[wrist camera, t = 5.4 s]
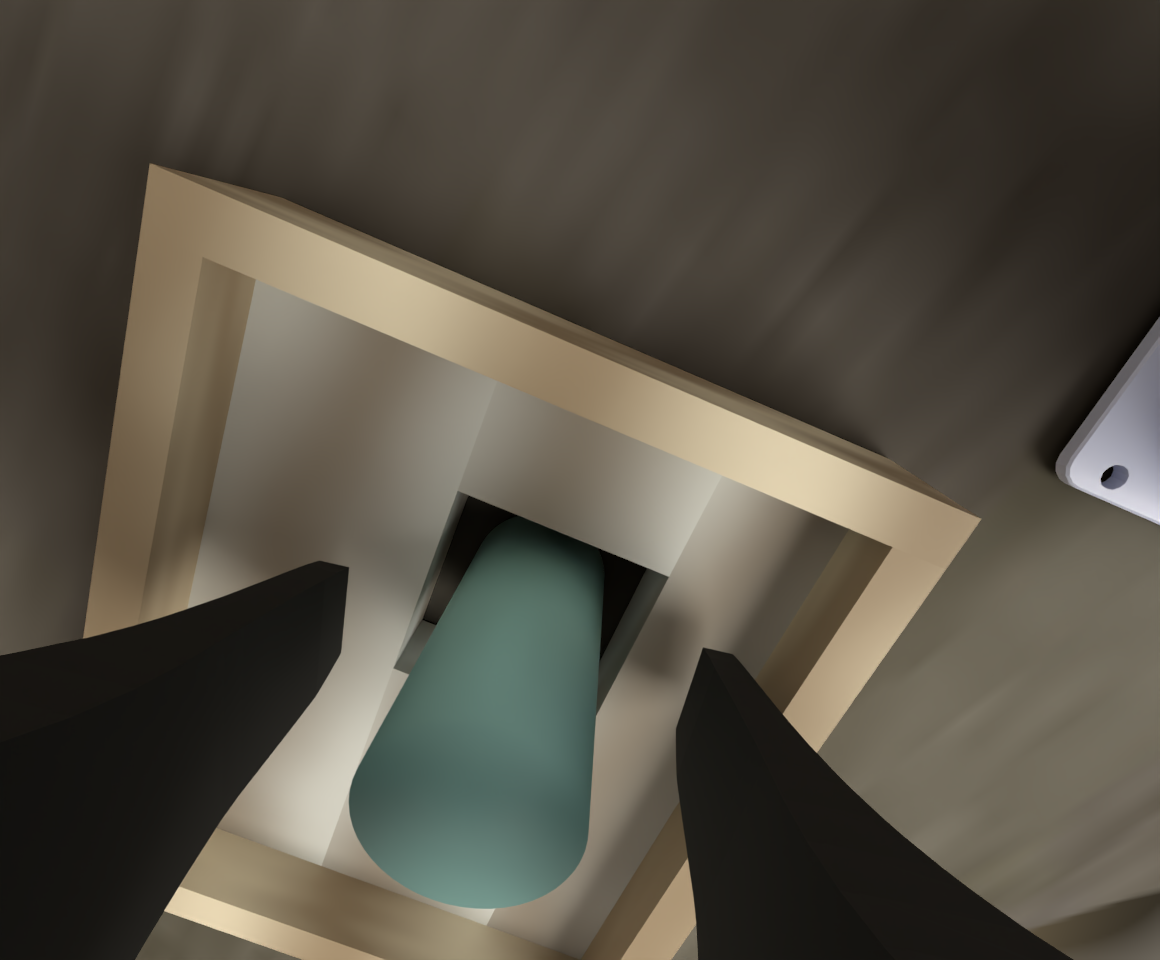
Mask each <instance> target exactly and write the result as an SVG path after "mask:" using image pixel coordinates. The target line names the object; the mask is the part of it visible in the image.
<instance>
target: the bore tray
mask: <svg viewBox="0 0 1160 960" xmlns="http://www.w3.org/2000/svg"><path fill="white" fill-rule="evenodd" d="M468 495H469V496H472V497H474V498H477V499H479V500H482V501H484V502H486V503H489V504H491V505H494V506H496V507H499V508H501V509H504V510H506V511H509V512H511V513H514V514H516V515H518V516H521V517H523V518H526V519H528V520H531V521H533V522H536V523H538V524H541V525H543V526H545V527H548V528H550V529H553V530H555V531H558V532H560V533H563V534H565V535H568V536H570V537H572V538H575V539H577V540H580V541H582V542H585V543H587V544H590V545H592V546H595V547H597V548H599V549H602V550H604V551H607V552H609V553H612V554H614V555H617V556H619V557H622V558H624V559H626V560H629V561H631V562H634V563H636V564H639V565H641V566H644V567H646V568H647V569H646V571H645V573H644V575H643V577H642V579H641V581H640V583H639V585H638V587H637V589H636V591H635V593H634V595H633V597H632V599H631V601H630V603H629V605H628V607H627V609H626V611H625V613H624V614H623V616H622V618H621V620H620V622H619V624H618V626H617V628H616V630H615V632H614V634H613V636H612V638H611V640H610V642H609V644H608V646H607V648H606V650H605V652H604V654H603V656H602V658H601V660H600V662H599V675H598V691H597V707H596V723H595V739H594V755H593V771H592V786H591V802H590V818H589V833H588V841H587V845H586V849H585V852H584V855H583V857H582V859H581V861H580V863H579V864H578V866H577V867H576V869H575V870H574V872H573V873H572V874H571V875H570V876H569V877H568V878H567V880H566V881H565V882H563V883H562V884H561V885H560V886H558V887H557V888H556V889H554V890H553V891H551V892H549V893H548V894H546V895H544V896H542V897H540V898H538V899H535V900H533V901H530V902H527V903H524V904H521V905H516V906H511V907H506V908H495V909H474V908H465V907H458V906H453V905H449V904H445V903H441V902H438V901H435V900H432V899H429V898H427V897H424V896H422V895H419V894H417V893H415V892H413V891H412V890H410V889H408V888H406V887H404V886H403V885H401V884H400V883H398V882H397V881H395V880H394V879H392V878H391V877H390V876H389V875H387V874H386V873H385V872H384V871H383V870H381V869H380V867H379V866H378V865H377V864H376V863H375V862H374V861H373V860H372V859H371V858H370V856H369V855H368V854H367V853H366V851H365V850H364V848H363V847H362V845H361V843H360V842H359V840H358V838H357V836H356V833H355V831H354V829H353V826H352V822H351V818H350V812H349V791H350V787H351V783H352V779H353V777H354V775H355V772H356V770H357V768H358V766H359V764H360V763H361V761H362V759H363V757H364V755H365V754H366V752H367V750H368V748H369V746H370V744H371V743H372V741H373V739H374V737H375V735H376V734H377V732H378V730H379V728H380V726H381V725H382V723H383V721H384V719H385V717H386V716H387V714H388V712H389V710H390V708H391V706H392V705H393V703H394V701H395V699H396V697H397V696H398V694H399V692H400V690H401V688H402V687H403V685H404V683H405V681H406V679H407V678H408V676H409V674H410V672H411V670H412V668H413V667H414V665H415V663H416V661H417V659H418V658H419V656H420V654H421V652H422V650H423V649H424V647H425V645H426V643H427V641H428V640H429V638H430V636H431V634H432V632H433V630H434V629H435V627H436V625H434V624H431V623H429V622H426V621H424V620H422V619H423V617H424V614H425V611H426V609H427V606H428V603H429V601H430V598H431V595H432V592H433V590H434V587H435V584H436V582H437V579H438V576H439V574H440V571H441V568H442V565H443V563H444V560H445V557H446V555H447V552H448V549H449V547H450V544H451V541H452V538H453V536H454V533H455V530H456V528H457V525H458V522H459V520H460V517H461V514H462V511H463V509H464V506H465V503H466V501H467V498H468ZM980 520H981V519H980V518H979V517H977V516H976V515H974V514H973V513H971V512H970V511H968V510H967V509H965V508H964V507H962V506H960V505H959V504H957V503H956V502H954V501H953V500H951V499H950V498H948V497H947V496H945V495H944V494H942V493H940V492H939V491H937V490H936V489H934V488H933V487H931V486H930V485H928V484H927V483H925V482H924V481H922V480H920V479H919V478H917V477H916V476H914V475H913V474H911V473H910V472H908V471H907V470H905V469H904V468H902V467H900V466H899V465H897V464H896V463H894V462H893V461H891V460H890V459H888V458H886V457H883V456H881V455H879V454H876V453H874V452H872V451H869V450H867V449H865V448H862V447H860V446H858V445H855V444H853V443H851V442H848V441H846V440H844V439H841V438H839V437H837V436H834V435H832V434H830V433H827V432H825V431H823V430H820V429H818V428H816V427H813V426H811V425H809V424H807V423H804V422H802V421H800V420H797V419H795V418H793V417H790V416H788V415H786V414H783V413H781V412H779V411H776V410H774V409H772V408H769V407H767V406H765V405H762V404H760V403H758V402H755V401H753V400H751V399H748V398H746V397H744V396H741V395H739V394H737V393H734V392H732V391H730V390H728V389H725V388H723V387H721V386H718V385H716V384H714V383H711V382H709V381H707V380H704V379H702V378H700V377H697V376H695V375H693V374H690V373H688V372H686V371H683V370H681V369H679V368H676V367H674V366H672V365H669V364H667V363H665V362H662V361H660V360H658V359H655V358H653V357H651V356H648V355H646V354H644V353H642V352H639V351H637V350H635V349H632V348H630V347H628V346H625V345H623V344H621V343H618V342H616V341H614V340H611V339H609V338H607V337H604V336H602V335H600V334H597V333H595V332H593V331H590V330H588V329H586V328H583V327H581V326H579V325H576V324H574V323H572V322H569V321H567V320H565V319H562V318H560V317H558V316H556V315H553V314H551V313H549V312H546V311H544V310H542V309H539V308H537V307H535V306H532V305H530V304H528V303H525V302H523V301H521V300H518V299H516V298H514V297H511V296H509V295H507V294H504V293H502V292H500V291H497V290H495V289H493V288H490V287H488V286H486V285H483V284H481V283H479V282H477V281H474V280H472V279H470V278H467V277H465V276H463V275H460V274H458V273H456V272H453V271H451V270H449V269H446V268H444V267H442V266H439V265H437V264H435V263H432V262H430V261H428V260H425V259H423V258H421V257H418V256H416V255H414V254H411V253H409V252H407V251H404V250H402V249H400V248H397V247H395V246H393V245H391V244H388V243H386V242H384V241H381V240H379V239H377V238H374V237H372V236H370V235H367V234H365V233H363V232H360V231H358V230H356V229H353V228H351V227H349V226H346V225H344V224H342V223H339V222H337V221H335V220H332V219H330V218H328V217H325V216H323V215H321V214H318V213H316V212H314V211H312V210H309V209H307V208H305V207H302V206H300V205H298V204H295V203H293V202H291V201H288V200H286V199H284V198H281V197H278V196H274V195H270V194H266V193H262V192H259V191H255V190H251V189H247V188H243V187H239V186H236V185H232V184H228V183H224V182H220V181H216V180H212V179H209V178H205V177H201V176H197V175H193V174H189V173H186V172H182V171H178V170H174V169H170V168H166V167H163V166H159V165H155V164H151V163H150V166H149V173H148V180H147V187H146V194H145V202H144V209H143V216H142V223H141V230H140V237H139V244H138V251H137V258H136V266H135V273H134V280H133V287H132V294H131V301H130V308H129V315H128V322H127V330H126V337H125V344H124V351H123V358H122V365H121V372H120V379H119V387H118V394H117V401H116V408H115V415H114V422H113V429H112V436H111V443H110V451H109V458H108V465H107V472H106V479H105V486H104V493H103V500H102V507H101V515H100V522H99V529H98V536H97V543H96V550H95V557H94V564H93V572H92V579H91V586H90V593H89V600H88V607H87V614H86V621H85V628H84V636H83V639H84V638H88V637H92V636H96V635H100V634H104V633H108V632H112V631H115V630H119V629H123V628H127V627H131V626H134V625H138V624H141V623H145V622H148V621H151V620H155V619H158V618H161V617H164V616H168V615H170V614H173V613H176V612H179V611H182V610H185V609H188V608H191V607H194V606H197V605H200V604H203V603H205V602H208V601H211V600H214V599H217V598H220V597H223V596H226V595H228V594H231V593H233V592H236V591H239V590H241V589H244V588H246V587H249V586H252V585H254V584H257V583H259V582H262V581H265V580H267V579H270V578H272V577H275V576H277V575H280V574H282V573H285V572H288V571H290V570H293V569H296V568H298V567H301V566H304V565H307V564H309V563H313V562H316V561H319V560H320V561H324V562H328V563H333V564H337V565H342V566H346V567H349V575H348V586H347V596H346V607H345V617H344V628H343V639H342V649H341V654H340V656H339V658H338V659H337V661H336V663H335V665H334V667H333V668H332V670H331V672H330V674H329V675H328V677H327V679H326V680H325V682H324V684H323V685H322V687H321V689H320V690H319V692H318V694H317V695H316V697H315V698H314V699H313V701H312V702H311V703H310V705H309V706H308V707H307V709H306V710H305V711H304V713H303V714H302V715H301V717H300V718H299V719H298V720H297V722H296V723H295V724H294V726H293V727H292V728H291V730H290V731H289V732H288V733H287V735H286V736H285V737H284V739H283V740H282V741H281V742H280V744H279V745H278V746H277V748H276V749H275V750H274V751H273V753H272V754H271V755H270V756H269V758H268V759H267V760H266V762H265V763H264V764H263V765H262V767H261V768H260V769H259V771H258V772H257V773H256V774H255V776H254V777H253V778H252V780H251V781H250V782H249V783H248V785H247V786H246V787H245V788H244V790H243V791H242V792H241V794H240V795H239V796H238V798H237V799H236V800H235V802H234V803H233V805H232V806H231V807H230V809H229V810H228V812H227V813H226V814H225V816H224V817H223V818H222V820H221V821H220V823H219V825H218V826H217V828H216V829H215V831H214V832H213V834H212V835H211V837H210V839H209V840H208V842H207V843H206V845H205V846H204V848H203V849H202V851H201V853H200V854H199V856H198V857H197V859H196V860H195V862H194V864H193V865H192V867H191V868H190V870H189V871H188V873H187V874H186V876H185V878H184V879H183V881H182V883H181V884H180V886H179V887H178V889H177V891H176V892H175V894H174V896H173V897H172V899H171V901H170V902H169V904H168V905H167V907H166V909H165V910H164V911H166V912H169V913H172V914H174V915H177V916H180V917H183V918H186V919H189V920H191V921H194V922H197V923H200V924H203V925H206V926H209V927H211V928H214V929H217V930H220V931H223V932H226V933H228V934H231V935H234V936H237V937H240V938H243V939H245V940H248V941H251V942H254V943H257V944H260V945H263V946H265V947H268V948H271V949H274V950H277V951H280V952H282V953H285V954H288V955H291V956H294V957H297V958H300V959H302V960H671V959H672V958H673V956H674V955H675V953H676V952H677V951H678V949H679V948H680V946H681V945H682V943H683V942H684V941H685V939H686V938H687V936H688V935H689V934H690V932H691V931H692V929H693V928H694V926H695V925H696V916H695V906H694V897H693V890H692V883H691V877H690V870H689V863H688V856H687V849H686V842H685V835H684V829H683V822H682V815H681V807H680V800H679V793H678V785H677V776H676V727H677V724H678V721H679V718H680V715H681V712H682V709H683V706H684V703H685V700H686V697H687V694H688V691H689V688H690V685H691V682H692V679H693V676H694V673H695V670H696V667H697V664H698V661H699V658H700V655H701V652H702V649H703V647H704V648H708V649H713V650H717V651H721V652H726V653H730V654H733V655H734V656H735V657H736V658H737V659H738V660H739V661H740V662H741V664H742V665H743V666H744V667H745V668H746V670H747V671H748V672H749V673H750V675H751V676H752V677H753V678H754V680H755V681H756V682H757V683H758V685H759V686H760V687H761V688H762V689H763V691H764V692H765V693H766V694H767V696H768V697H769V698H770V699H771V701H772V702H773V703H774V704H775V705H776V707H777V708H778V709H779V710H780V712H781V713H782V714H783V715H784V716H785V718H786V719H787V720H788V721H789V722H790V723H791V725H792V726H793V727H794V728H795V729H796V730H797V732H798V733H799V734H800V735H801V736H802V737H803V738H804V740H805V741H806V742H807V743H808V744H809V745H810V746H811V747H812V748H813V750H814V751H815V752H816V753H817V752H818V750H819V749H820V747H821V746H822V745H823V743H824V742H825V740H826V739H827V738H828V736H829V735H830V733H831V732H832V730H833V729H834V728H835V726H836V725H837V723H838V722H839V720H840V719H841V718H842V716H843V715H844V713H845V712H846V711H847V709H848V708H849V706H850V705H851V703H852V702H853V701H854V699H855V698H856V696H857V695H858V693H859V692H860V691H861V689H862V688H863V686H864V685H865V684H866V682H867V681H868V679H869V678H870V676H871V675H872V674H873V672H874V671H875V669H876V668H877V667H878V665H879V664H880V662H881V661H882V659H883V658H884V657H885V655H886V654H887V652H888V651H889V649H890V648H891V647H892V645H893V644H894V642H895V641H896V640H897V638H898V637H899V635H900V634H901V632H902V631H903V630H904V628H905V627H906V625H907V624H908V622H909V621H910V620H911V618H912V617H913V615H914V614H915V613H916V611H917V610H918V608H919V607H920V605H921V604H922V603H923V601H924V600H925V598H926V597H927V595H928V594H929V593H930V591H931V590H932V588H933V587H934V586H935V584H936V583H937V581H938V580H939V578H940V577H941V576H942V574H943V573H944V571H945V570H946V569H947V567H948V566H949V564H950V563H951V561H952V560H953V559H954V557H955V556H956V554H957V553H958V551H959V550H960V549H961V547H962V546H963V544H964V543H965V542H966V540H967V539H968V537H969V536H970V534H971V533H972V532H973V530H974V529H975V527H976V526H977V524H978V523H979V522H980Z"/></svg>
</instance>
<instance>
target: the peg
mask: <svg viewBox="0 0 1160 960" xmlns="http://www.w3.org/2000/svg"><path fill="white" fill-rule="evenodd" d="M604 579H605V572H604V565H603V560H602V557H601V555H600V552H599V550H598V548H597V547H595V546H592V545H590V544H587V543H585V542H582V541H580V540H577V539H575V538H572V537H570V536H568V535H565V534H563V533H560V532H558V531H555V530H553V529H550V528H548V527H545V526H543V525H541V524H538V523H536V522H533V521H531V520H528V519H526V518H523V517H521V516H516V517H513V518H510V519H508V520H506V521H504V522H502V523H501V524H499V525H498V526H496V527H495V528H494V529H493V530H492V531H491V532H490V533H489V534H488V535H487V536H486V537H485V539H484V541H483V542H482V544H481V545H480V547H479V549H478V551H477V553H476V554H475V556H474V558H473V560H472V562H471V564H470V565H469V567H468V569H467V571H466V573H465V574H464V576H463V578H462V580H461V582H460V583H459V585H458V587H457V589H456V591H455V592H454V594H453V596H452V598H451V600H450V602H449V603H448V605H447V607H446V609H445V611H444V612H443V614H442V616H441V618H440V620H439V621H438V623H437V625H436V627H435V629H434V630H433V632H432V634H431V636H430V638H429V640H428V641H427V643H426V645H425V647H424V649H423V650H422V652H421V654H420V656H419V658H418V659H417V661H416V663H415V665H414V667H413V668H412V670H411V672H410V674H409V676H408V678H407V679H406V681H405V683H404V685H403V687H402V688H401V690H400V692H399V694H398V696H397V697H396V699H395V701H394V703H393V705H392V706H391V708H390V710H389V712H388V714H387V716H386V717H385V719H384V721H383V723H382V725H381V726H380V728H379V730H378V732H377V734H376V735H375V737H374V739H373V741H372V743H371V744H370V746H369V748H368V750H367V752H366V754H365V755H364V757H363V759H362V761H361V763H360V764H359V766H358V768H357V770H356V772H355V775H354V777H353V779H352V783H351V787H350V791H349V812H350V818H351V822H352V826H353V829H354V831H355V833H356V836H357V838H358V840H359V842H360V843H361V845H362V847H363V848H364V850H365V851H366V853H367V854H368V855H369V856H370V858H371V859H372V860H373V861H374V862H375V863H376V864H377V865H378V866H379V867H380V869H381V870H383V871H384V872H385V873H386V874H387V875H389V876H390V877H391V878H392V879H394V880H395V881H397V882H398V883H400V884H401V885H403V886H404V887H406V888H408V889H410V890H412V891H413V892H415V893H417V894H419V895H422V896H424V897H427V898H429V899H432V900H435V901H438V902H441V903H445V904H449V905H453V906H458V907H465V908H474V909H495V908H506V907H511V906H516V905H521V904H524V903H527V902H530V901H533V900H535V899H538V898H540V897H542V896H544V895H546V894H548V893H549V892H551V891H553V890H554V889H556V888H557V887H558V886H560V885H561V884H562V883H563V882H565V881H566V880H567V878H568V877H569V876H570V875H571V874H572V873H573V872H574V870H575V869H576V867H577V866H578V864H579V863H580V861H581V859H582V857H583V855H584V852H585V849H586V845H587V841H588V833H589V818H590V802H591V786H592V771H593V755H594V739H595V723H596V707H597V691H598V675H599V659H600V643H601V627H602V611H603V595H604Z"/></svg>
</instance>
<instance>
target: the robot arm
mask: <svg viewBox="0 0 1160 960" xmlns="http://www.w3.org/2000/svg"><path fill="white" fill-rule="evenodd" d="M1112 466H1113V473H1112V475H1111V477H1110V478H1108V479H1107V480H1106V481H1104V482H1101V477H1102V474H1103V472H1104V471H1106V470H1107V469H1108V468H1109V467H1112ZM1056 474H1057V476H1058V478H1059V479H1060V480H1061V481H1063V482H1064V483H1065V484H1067V485H1069V486H1072V487H1074V488H1076V489H1079V490H1081V491H1083V492H1085V493H1088V494H1090V495H1092V496H1095V497H1097V498H1099V499H1101V500H1104V501H1106V502H1108V503H1111V504H1113V505H1115V506H1117V507H1120V508H1122V509H1124V510H1127V511H1129V512H1131V513H1134V514H1136V515H1138V516H1140V517H1143V518H1145V519H1147V520H1150V521H1152V522H1154V523H1156V524H1159V525H1160V317H1159V318H1158V320H1157V321H1156V322H1155V324H1154V325H1153V327H1152V328H1151V329H1150V331H1149V332H1148V333H1147V335H1146V336H1145V338H1144V339H1143V340H1142V342H1141V343H1140V345H1139V346H1138V347H1137V349H1136V350H1135V351H1134V353H1133V354H1132V356H1131V357H1130V358H1129V360H1128V361H1127V362H1126V364H1125V365H1124V367H1123V368H1122V369H1121V371H1120V372H1119V374H1118V375H1117V376H1116V378H1115V379H1114V380H1113V382H1112V383H1111V385H1110V386H1109V387H1108V389H1107V390H1106V391H1105V393H1104V394H1103V396H1102V397H1101V398H1100V400H1099V401H1098V402H1097V404H1096V405H1095V407H1094V408H1093V409H1092V411H1091V412H1090V414H1089V415H1088V416H1087V418H1086V419H1085V420H1084V422H1083V423H1082V425H1081V426H1080V427H1079V429H1078V430H1077V431H1076V433H1075V434H1074V436H1073V437H1072V438H1071V440H1070V441H1069V443H1068V444H1067V445H1066V447H1065V448H1064V449H1063V451H1062V452H1061V454H1060V455H1059V457H1058V460H1057V462H1056ZM348 575H349V567H346V566H342V565H337V564H333V563H328V562H324V561H320V560H319V561H316V562H313V563H309V564H307V565H304V566H301V567H298V568H296V569H293V570H290V571H288V572H285V573H282V574H280V575H277V576H275V577H272V578H270V579H267V580H265V581H262V582H259V583H257V584H254V585H252V586H249V587H246V588H244V589H241V590H239V591H236V592H233V593H231V594H228V595H226V596H223V597H220V598H217V599H214V600H211V601H208V602H205V603H203V604H200V605H197V606H194V607H191V608H188V609H185V610H182V611H179V612H176V613H173V614H170V615H168V616H164V617H161V618H158V619H155V620H151V621H148V622H145V623H141V624H138V625H134V626H131V627H127V628H123V629H119V630H115V631H112V632H108V633H104V634H100V635H96V636H92V637H88V638H84V639H79V640H75V641H70V642H65V643H60V644H55V645H50V646H46V647H41V648H36V649H31V650H26V651H21V652H16V653H12V654H6V655H1V656H0V960H135V959H136V957H137V955H138V953H139V952H140V950H141V948H142V947H143V945H144V943H145V941H146V940H147V938H148V936H149V935H150V933H151V932H152V930H153V928H154V927H155V925H156V923H157V922H158V920H159V918H160V917H161V915H162V914H163V912H164V910H165V909H166V907H167V905H168V904H169V902H170V901H171V899H172V897H173V896H174V894H175V892H176V891H177V889H178V887H179V886H180V884H181V883H182V881H183V879H184V878H185V876H186V874H187V873H188V871H189V870H190V868H191V867H192V865H193V864H194V862H195V860H196V859H197V857H198V856H199V854H200V853H201V851H202V849H203V848H204V846H205V845H206V843H207V842H208V840H209V839H210V837H211V835H212V834H213V832H214V831H215V829H216V828H217V826H218V825H219V823H220V821H221V820H222V818H223V817H224V816H225V814H226V813H227V812H228V810H229V809H230V807H231V806H232V805H233V803H234V802H235V800H236V799H237V798H238V796H239V795H240V794H241V792H242V791H243V790H244V788H245V787H246V786H247V785H248V783H249V782H250V781H251V780H252V778H253V777H254V776H255V774H256V773H257V772H258V771H259V769H260V768H261V767H262V765H263V764H264V763H265V762H266V760H267V759H268V758H269V756H270V755H271V754H272V753H273V751H274V750H275V749H276V748H277V746H278V745H279V744H280V742H281V741H282V740H283V739H284V737H285V736H286V735H287V733H288V732H289V731H290V730H291V728H292V727H293V726H294V724H295V723H296V722H297V720H298V719H299V718H300V717H301V715H302V714H303V713H304V711H305V710H306V709H307V707H308V706H309V705H310V703H311V702H312V701H313V699H314V698H315V697H316V695H317V694H318V692H319V690H320V689H321V687H322V685H323V684H324V682H325V680H326V679H327V677H328V675H329V674H330V672H331V670H332V668H333V667H334V665H335V663H336V661H337V659H338V658H339V656H340V654H341V649H342V639H343V628H344V617H345V607H346V596H347V586H348ZM676 776H677V785H678V793H679V800H680V807H681V815H682V822H683V829H684V835H685V842H686V849H687V856H688V863H689V870H690V877H691V883H692V890H693V897H694V906H695V916H696V925H697V943H698V960H1073V959H1071V958H1070V957H1068V956H1067V955H1065V954H1064V953H1062V952H1061V951H1059V950H1057V949H1056V948H1054V947H1053V946H1051V945H1050V944H1048V943H1047V942H1045V941H1043V940H1042V939H1040V938H1039V937H1037V936H1035V935H1034V934H1033V933H1031V932H1030V931H1028V930H1027V929H1025V928H1024V927H1022V926H1021V925H1019V924H1018V923H1017V922H1015V921H1014V920H1012V919H1011V918H1010V917H1008V916H1007V915H1005V914H1004V913H1003V912H1001V911H1000V910H998V909H997V908H996V907H994V906H993V905H991V904H990V903H989V902H987V901H986V900H984V899H983V898H982V897H980V896H979V895H977V894H976V893H975V892H973V891H972V890H971V889H969V888H968V887H967V886H965V885H964V884H963V883H961V882H960V881H959V880H957V879H956V878H955V877H954V876H952V875H951V874H950V873H948V872H947V871H946V870H944V869H943V868H942V867H941V866H939V865H938V864H937V863H936V862H934V861H933V860H932V859H931V858H930V857H928V856H927V855H926V854H925V853H923V852H922V851H921V850H920V849H918V848H917V847H916V846H915V845H914V844H912V843H911V842H910V841H909V840H907V839H906V838H905V837H904V836H903V835H901V834H900V833H899V832H898V831H897V830H896V829H895V828H893V827H892V826H891V825H890V824H889V823H888V822H887V821H885V820H884V819H883V818H882V817H881V816H880V815H879V814H878V813H877V812H876V811H875V810H873V809H872V808H871V807H870V806H869V805H868V804H867V803H866V802H865V801H864V800H863V799H862V798H861V797H860V796H858V795H857V794H856V793H855V792H854V791H853V790H852V789H851V788H850V787H849V786H848V785H847V784H846V783H845V782H844V781H843V780H842V779H841V778H840V777H839V776H838V775H837V774H836V773H835V772H834V771H833V770H832V769H831V768H830V767H829V766H828V765H827V763H826V762H825V761H824V760H823V759H822V758H821V757H820V756H819V755H818V754H817V753H816V752H815V751H814V750H813V748H812V747H811V746H810V745H809V744H808V743H807V742H806V741H805V740H804V738H803V737H802V736H801V735H800V734H799V733H798V732H797V730H796V729H795V728H794V727H793V726H792V725H791V723H790V722H789V721H788V720H787V719H786V718H785V716H784V715H783V714H782V713H781V712H780V710H779V709H778V708H777V707H776V705H775V704H774V703H773V702H772V701H771V699H770V698H769V697H768V696H767V694H766V693H765V692H764V691H763V689H762V688H761V687H760V686H759V685H758V683H757V682H756V681H755V680H754V678H753V677H752V676H751V675H750V673H749V672H748V671H747V670H746V668H745V667H744V666H743V665H742V664H741V662H740V661H739V660H738V659H737V658H736V657H735V656H734V655H733V654H730V653H726V652H721V651H717V650H713V649H708V648H704V647H703V649H702V652H701V655H700V658H699V661H698V664H697V667H696V670H695V673H694V676H693V679H692V682H691V685H690V688H689V691H688V694H687V697H686V700H685V703H684V706H683V709H682V712H681V715H680V718H679V721H678V724H677V727H676Z"/></svg>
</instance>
